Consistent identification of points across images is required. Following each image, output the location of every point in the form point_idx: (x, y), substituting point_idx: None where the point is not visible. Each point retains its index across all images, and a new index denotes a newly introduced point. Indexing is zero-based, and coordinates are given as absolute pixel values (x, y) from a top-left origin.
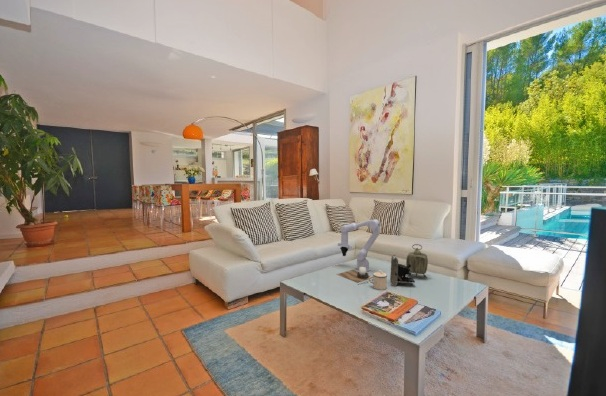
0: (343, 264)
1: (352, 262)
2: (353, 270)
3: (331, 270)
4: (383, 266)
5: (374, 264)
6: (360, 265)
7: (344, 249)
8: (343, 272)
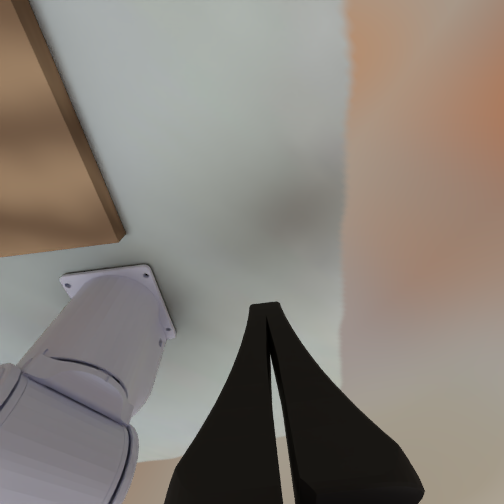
0: (335, 276)
1: (323, 346)
2: (92, 235)
3: (263, 30)
4: (158, 421)
5: None
6: (52, 323)
7: (174, 477)
8: (41, 78)
